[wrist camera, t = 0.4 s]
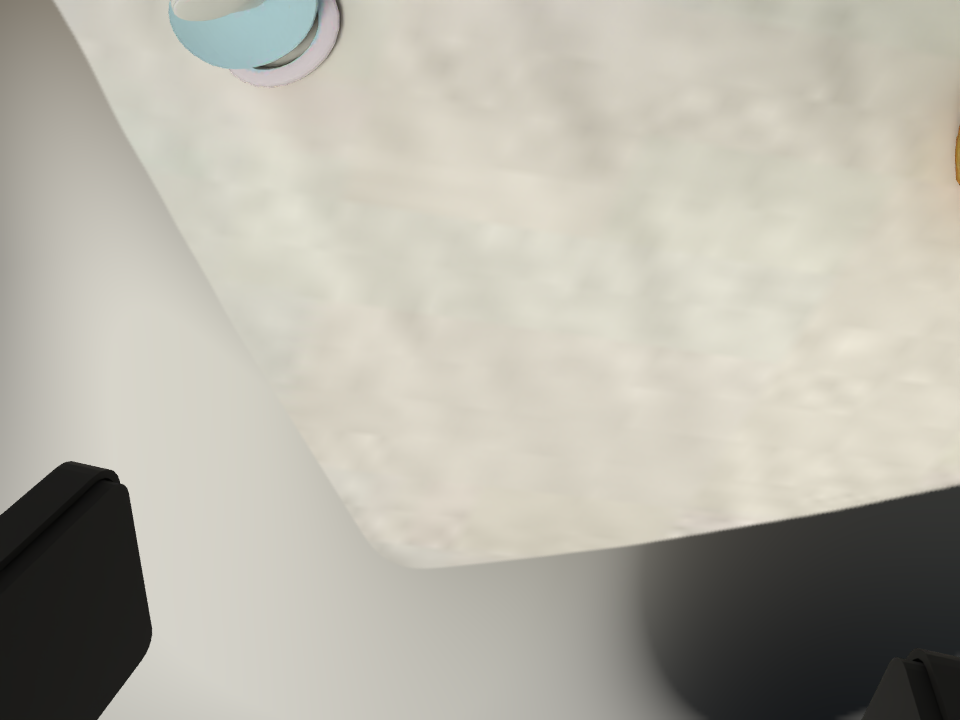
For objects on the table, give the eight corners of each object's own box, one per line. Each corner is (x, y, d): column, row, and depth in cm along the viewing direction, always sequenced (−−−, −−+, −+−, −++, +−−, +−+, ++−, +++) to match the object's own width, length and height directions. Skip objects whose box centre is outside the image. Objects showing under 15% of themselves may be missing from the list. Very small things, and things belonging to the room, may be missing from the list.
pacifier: (370, 41, 36) (303, -94, 34) (318, 64, 31) (234, -95, 29) (248, 108, 39) (178, -14, 37) (180, 139, 34) (94, -1, 32)
